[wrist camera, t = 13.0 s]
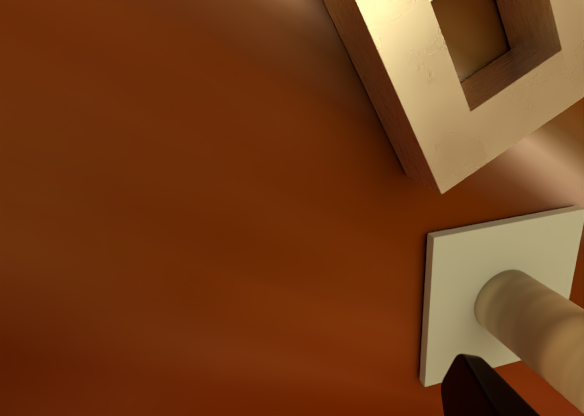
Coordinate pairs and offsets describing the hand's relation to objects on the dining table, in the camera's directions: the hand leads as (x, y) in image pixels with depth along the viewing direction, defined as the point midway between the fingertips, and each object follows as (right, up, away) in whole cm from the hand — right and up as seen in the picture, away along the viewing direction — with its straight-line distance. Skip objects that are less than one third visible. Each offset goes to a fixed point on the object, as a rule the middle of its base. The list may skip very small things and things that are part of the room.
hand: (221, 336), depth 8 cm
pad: (+14, -3, +19) cm, 23 cm away
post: (+14, -3, +18) cm, 23 cm away
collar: (+9, +11, +12) cm, 18 cm away
